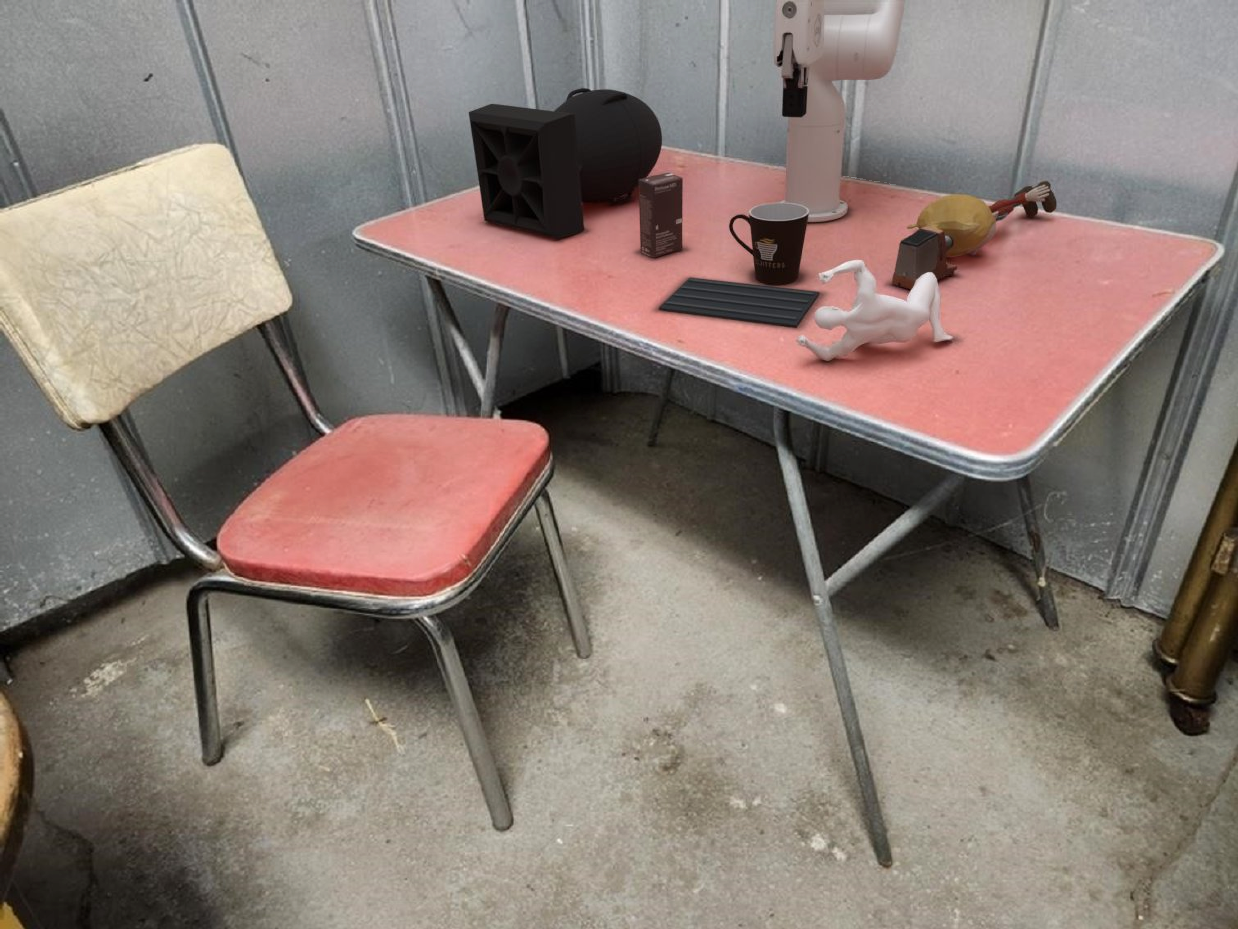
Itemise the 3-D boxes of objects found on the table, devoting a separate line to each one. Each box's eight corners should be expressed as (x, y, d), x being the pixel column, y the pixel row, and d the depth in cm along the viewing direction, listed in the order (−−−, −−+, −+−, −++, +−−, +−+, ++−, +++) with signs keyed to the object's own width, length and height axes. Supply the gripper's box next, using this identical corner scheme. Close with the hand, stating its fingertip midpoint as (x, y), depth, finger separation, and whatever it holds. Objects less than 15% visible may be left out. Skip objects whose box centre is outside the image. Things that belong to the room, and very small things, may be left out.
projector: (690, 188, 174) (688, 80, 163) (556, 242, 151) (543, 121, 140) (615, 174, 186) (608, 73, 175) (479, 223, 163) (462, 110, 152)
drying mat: (689, 279, 133) (689, 275, 133) (819, 294, 125) (819, 289, 125) (658, 309, 124) (658, 305, 124) (796, 327, 116) (796, 322, 116)
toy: (984, 236, 155) (885, 282, 139) (970, 181, 153) (868, 221, 137) (1114, 202, 137) (1016, 251, 121) (1100, 139, 135) (999, 181, 119)
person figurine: (892, 237, 112) (823, 255, 99) (983, 278, 106) (922, 302, 93) (855, 328, 119) (786, 355, 106) (938, 371, 113) (876, 405, 100)
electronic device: (957, 275, 128) (965, 224, 124) (915, 293, 123) (921, 241, 119) (932, 267, 131) (938, 218, 127) (890, 285, 127) (895, 234, 122)
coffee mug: (817, 278, 130) (821, 212, 125) (771, 292, 127) (774, 224, 121) (768, 257, 139) (770, 194, 133) (724, 270, 136) (724, 206, 130)
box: (655, 259, 141) (652, 184, 135) (639, 252, 145) (636, 178, 138) (685, 250, 144) (683, 176, 138) (669, 243, 147) (666, 171, 141)
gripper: (813, -22, 111) (805, 128, 121) (841, -33, 123) (831, 106, 133) (756, -21, 114) (753, 126, 124) (789, -31, 126) (783, 104, 135)
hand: (794, 115), depth 128 cm, fingers closed
